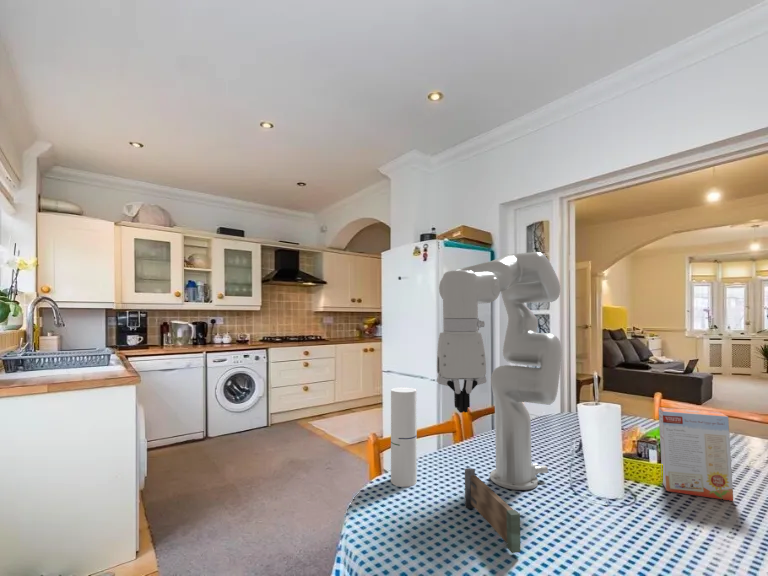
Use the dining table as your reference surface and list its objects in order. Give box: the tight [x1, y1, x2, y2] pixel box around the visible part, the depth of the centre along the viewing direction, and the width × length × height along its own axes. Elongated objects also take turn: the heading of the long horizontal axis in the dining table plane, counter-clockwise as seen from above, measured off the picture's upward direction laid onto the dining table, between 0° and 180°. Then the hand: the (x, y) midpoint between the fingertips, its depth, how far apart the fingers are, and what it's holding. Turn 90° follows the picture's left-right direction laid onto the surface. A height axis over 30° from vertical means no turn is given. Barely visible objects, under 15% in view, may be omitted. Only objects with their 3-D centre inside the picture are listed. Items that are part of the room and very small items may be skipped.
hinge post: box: [464, 467, 476, 510], centre depth 96 cm, size 2×2×8 cm
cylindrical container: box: [390, 386, 418, 488], centre depth 110 cm, size 7×7×25 cm
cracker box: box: [658, 406, 734, 502], centre depth 104 cm, size 14×6×21 cm, turn 65°
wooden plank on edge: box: [470, 474, 521, 554], centre depth 85 cm, size 19×2×7 cm, turn 12°
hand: (462, 410), depth 86 cm, fingers closed
